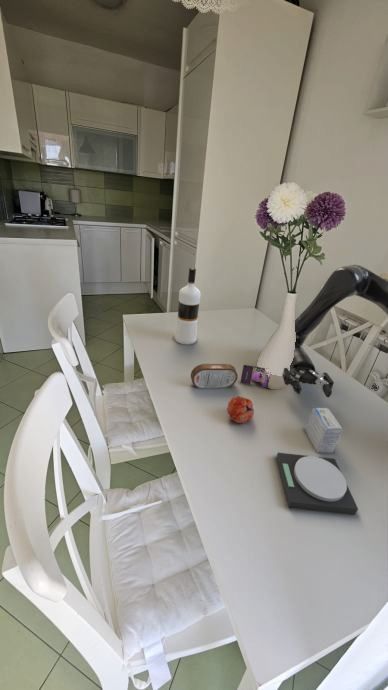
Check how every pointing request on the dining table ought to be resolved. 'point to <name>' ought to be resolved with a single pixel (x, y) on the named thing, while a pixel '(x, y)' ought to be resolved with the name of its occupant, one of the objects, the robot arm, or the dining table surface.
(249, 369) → the purple box
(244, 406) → the pomegranate
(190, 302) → the vodka
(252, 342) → the dining table surface
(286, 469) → the kitchen scale
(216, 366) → the tin
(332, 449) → the medicine box
